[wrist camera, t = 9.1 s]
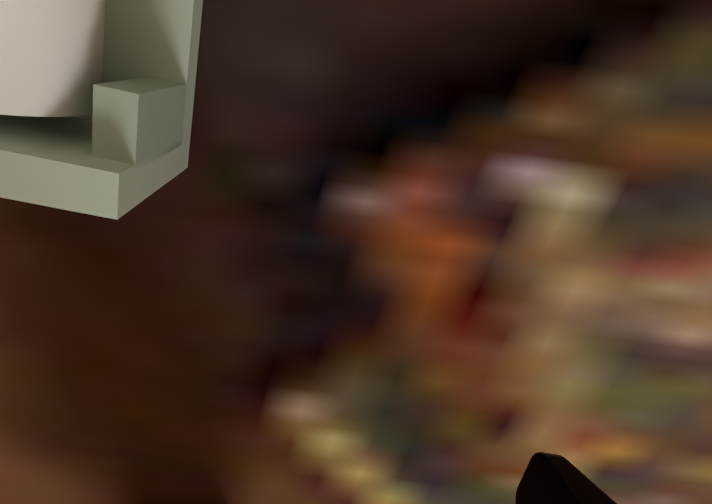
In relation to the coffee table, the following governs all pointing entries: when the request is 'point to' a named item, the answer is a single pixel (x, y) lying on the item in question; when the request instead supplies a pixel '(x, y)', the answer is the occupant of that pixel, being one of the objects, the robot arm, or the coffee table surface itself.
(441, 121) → the coffee table surface
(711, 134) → the coffee table surface
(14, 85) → the cylinder
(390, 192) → the coffee table surface
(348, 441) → the coffee table surface
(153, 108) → the cradle
